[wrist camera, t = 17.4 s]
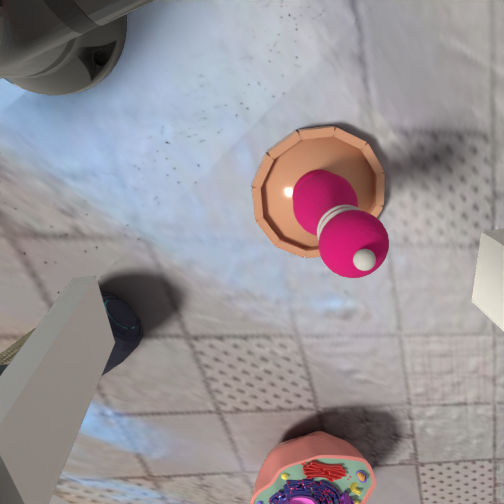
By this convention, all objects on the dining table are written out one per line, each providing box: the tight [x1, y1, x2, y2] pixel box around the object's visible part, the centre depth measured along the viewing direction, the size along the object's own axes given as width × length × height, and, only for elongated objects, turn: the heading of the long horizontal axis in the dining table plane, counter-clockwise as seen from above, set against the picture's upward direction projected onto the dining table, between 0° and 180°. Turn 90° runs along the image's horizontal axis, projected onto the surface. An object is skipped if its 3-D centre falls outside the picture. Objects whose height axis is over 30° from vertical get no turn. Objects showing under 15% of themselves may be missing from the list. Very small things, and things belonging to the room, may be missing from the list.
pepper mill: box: [292, 170, 389, 278], centre depth 41 cm, size 7×7×20 cm
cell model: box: [250, 431, 376, 504], centre depth 64 cm, size 17×20×11 cm
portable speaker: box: [0, 292, 143, 375], centre depth 53 cm, size 25×10×10 cm, turn 126°
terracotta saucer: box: [251, 126, 385, 258], centre depth 50 cm, size 16×16×2 cm
